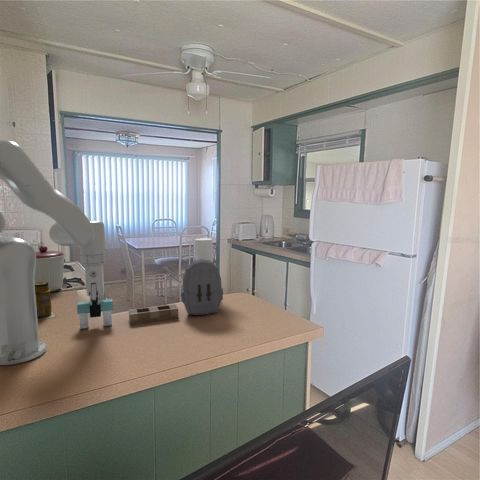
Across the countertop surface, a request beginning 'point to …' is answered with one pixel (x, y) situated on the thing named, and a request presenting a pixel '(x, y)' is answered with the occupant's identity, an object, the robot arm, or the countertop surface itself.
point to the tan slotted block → (153, 314)
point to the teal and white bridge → (84, 309)
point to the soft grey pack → (202, 288)
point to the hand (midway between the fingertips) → (95, 314)
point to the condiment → (43, 301)
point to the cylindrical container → (204, 249)
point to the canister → (49, 268)
